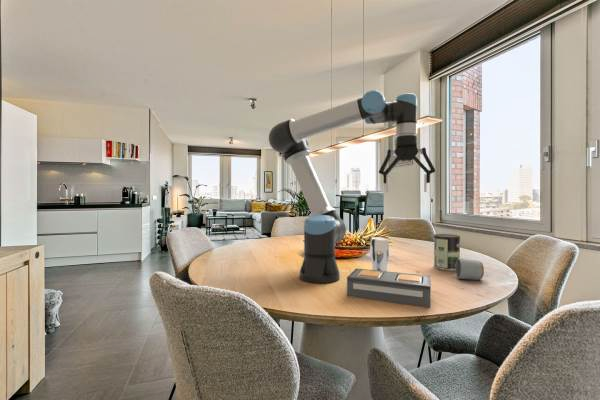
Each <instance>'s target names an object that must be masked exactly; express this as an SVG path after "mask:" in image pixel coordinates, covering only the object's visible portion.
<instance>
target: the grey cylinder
mask: <svg viewBox="0 0 600 400" xmlns="http://www.w3.org/2000/svg"><path fill="white" fill-rule="evenodd" d="M484 274H485V268H484V264H483V262H482V261H480V260H476V259H468V258H461V257H460V258H458V259H457V261H456V270H455V275H456V278H457V279H459V280H472V281H474V280H475V281H480V280H482V279H483V278H484Z"/></svg>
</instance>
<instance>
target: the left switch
mask: <svg viewBox="0 0 600 400" xmlns="http://www.w3.org/2000/svg"><path fill="white" fill-rule="evenodd" d="M369 270H370V269H366V270H362V271H361V272H360V273H359V274H358V275H357V276H359V277H368V278H377V279H381V277H382V276H383V273H381V272H379V271H369Z"/></svg>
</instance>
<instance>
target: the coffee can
mask: <svg viewBox="0 0 600 400" xmlns="http://www.w3.org/2000/svg"><path fill="white" fill-rule="evenodd" d="M460 243H461V236H460V235H457V234H449V233H436V234H433V268H435V269H438V270H442V271H451V272H452V271H453V272H456V261H457V259H458V258H461V256H460V255H461V254H460V253H461V250H460V248H461V244H460Z"/></svg>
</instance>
